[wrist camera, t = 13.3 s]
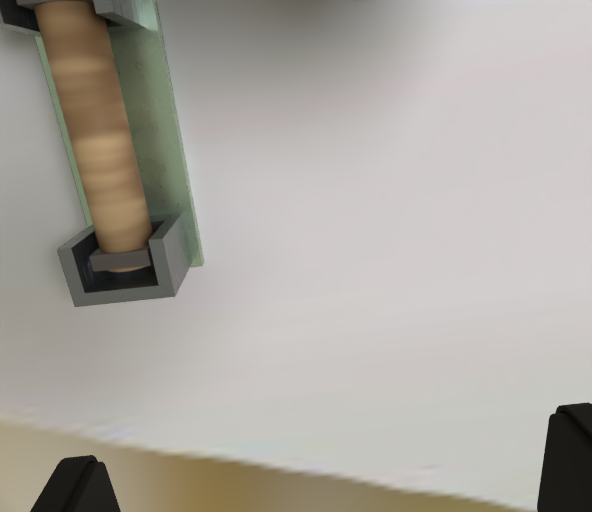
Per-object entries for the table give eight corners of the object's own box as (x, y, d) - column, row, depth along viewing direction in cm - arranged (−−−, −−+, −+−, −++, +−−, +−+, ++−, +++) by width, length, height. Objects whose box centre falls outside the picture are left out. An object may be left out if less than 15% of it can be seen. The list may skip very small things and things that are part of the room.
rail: (45, -9, 29) (9, -25, 25) (107, -16, 29) (81, -33, 25) (114, 255, 36) (94, 275, 32) (165, 249, 36) (151, 269, 32)
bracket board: (21, -37, 31) (-61, -77, 24) (146, -50, 31) (105, -94, 24) (105, 272, 40) (65, 314, 32) (204, 261, 40) (187, 301, 32)
